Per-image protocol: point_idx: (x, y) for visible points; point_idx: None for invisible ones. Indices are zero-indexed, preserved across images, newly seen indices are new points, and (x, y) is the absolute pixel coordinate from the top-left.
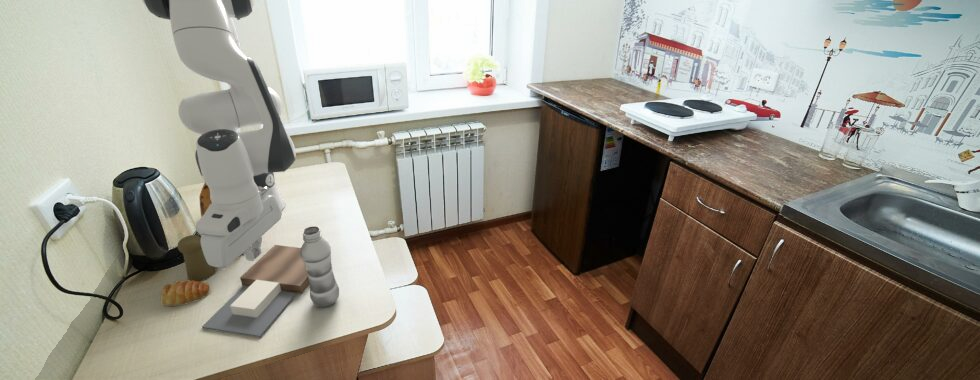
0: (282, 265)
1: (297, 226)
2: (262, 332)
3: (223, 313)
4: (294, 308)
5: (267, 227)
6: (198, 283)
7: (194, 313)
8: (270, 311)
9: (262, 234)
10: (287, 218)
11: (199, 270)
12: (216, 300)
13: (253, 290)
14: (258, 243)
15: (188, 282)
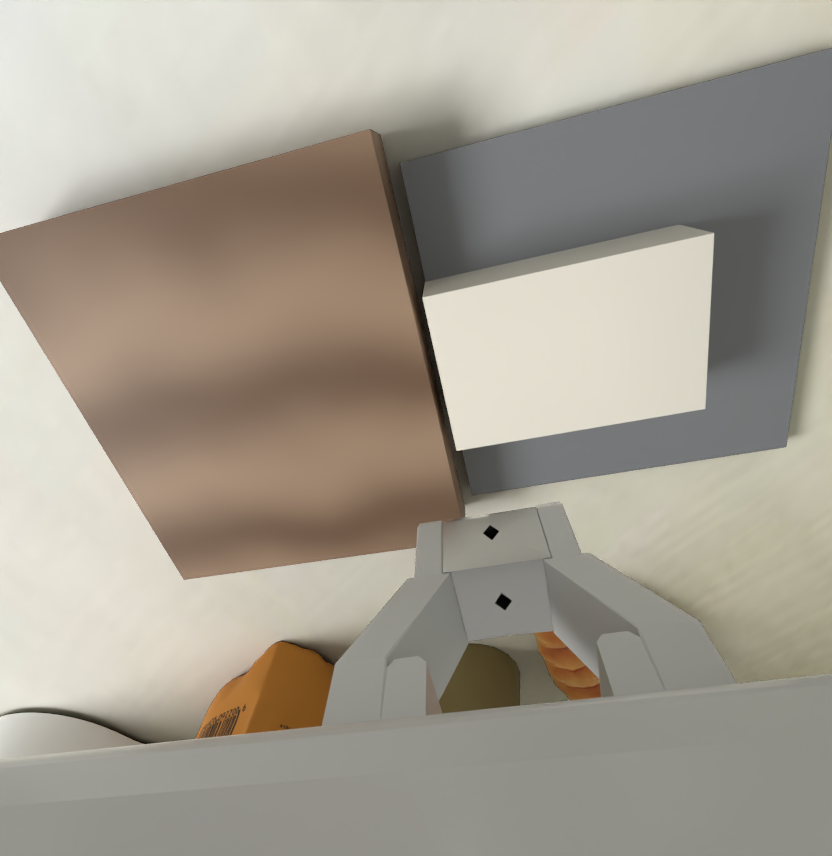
0: (277, 421)
1: (23, 597)
2: (810, 57)
3: (680, 428)
4: (516, 58)
5: (120, 827)
6: (563, 651)
7: (685, 541)
8: (609, 185)
9: (317, 749)
10: (28, 663)
11: (501, 701)
12: (588, 527)
13: (545, 391)
14: (413, 638)
15: (585, 684)
